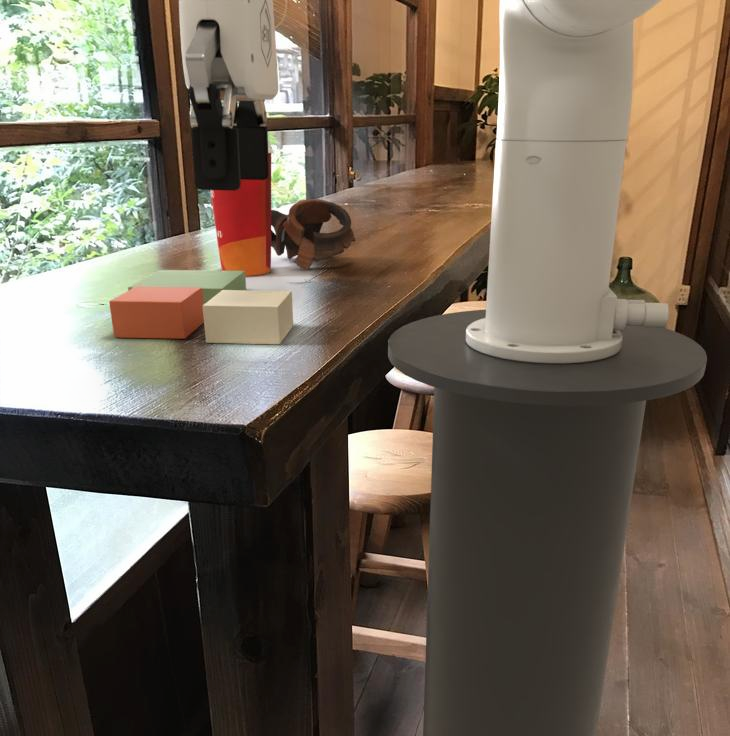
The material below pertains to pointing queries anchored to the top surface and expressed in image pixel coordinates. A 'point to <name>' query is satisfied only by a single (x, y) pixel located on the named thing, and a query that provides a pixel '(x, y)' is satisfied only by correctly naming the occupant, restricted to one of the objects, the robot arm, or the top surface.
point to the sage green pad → (196, 280)
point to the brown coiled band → (310, 231)
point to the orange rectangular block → (157, 312)
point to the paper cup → (244, 225)
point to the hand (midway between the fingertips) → (234, 184)
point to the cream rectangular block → (248, 317)
